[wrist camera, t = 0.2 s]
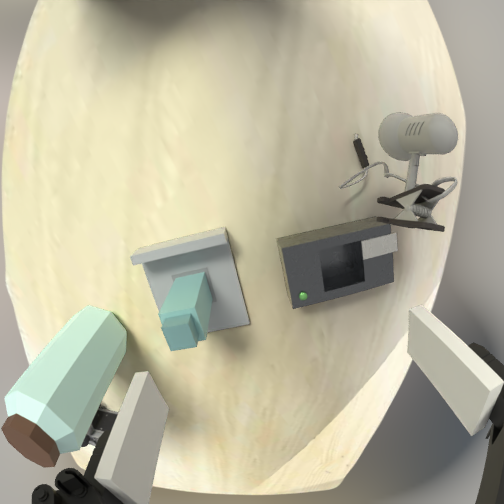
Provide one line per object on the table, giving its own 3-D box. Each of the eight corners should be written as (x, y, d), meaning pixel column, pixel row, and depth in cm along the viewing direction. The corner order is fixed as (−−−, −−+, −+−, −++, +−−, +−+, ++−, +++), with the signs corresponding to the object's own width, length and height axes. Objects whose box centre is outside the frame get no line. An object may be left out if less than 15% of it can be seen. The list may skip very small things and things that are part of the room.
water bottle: (88, 356, 43) (24, 466, 19) (67, 304, 40) (-26, 405, 16) (139, 354, 43) (87, 484, 19) (119, 298, 40) (32, 421, 16)
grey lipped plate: (138, 248, 38) (130, 256, 35) (225, 226, 38) (224, 233, 34) (170, 336, 42) (166, 350, 39) (249, 321, 42) (250, 335, 39)
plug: (175, 278, 39) (153, 323, 27) (204, 271, 39) (192, 316, 27) (184, 304, 40) (167, 356, 28) (212, 299, 40) (204, 350, 28)
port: (276, 238, 39) (281, 249, 34) (379, 215, 38) (395, 222, 34) (287, 293, 41) (293, 310, 36) (384, 269, 41) (399, 281, 36)
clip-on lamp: (370, 211, 38) (454, 248, 21) (328, 202, 38) (396, 236, 20) (384, 127, 35) (474, 115, 18) (342, 115, 34) (418, 86, 17)
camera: (127, 398, 46) (112, 437, 36) (133, 425, 48) (122, 463, 39) (57, 381, 45) (35, 414, 35) (67, 409, 47) (50, 441, 38)
